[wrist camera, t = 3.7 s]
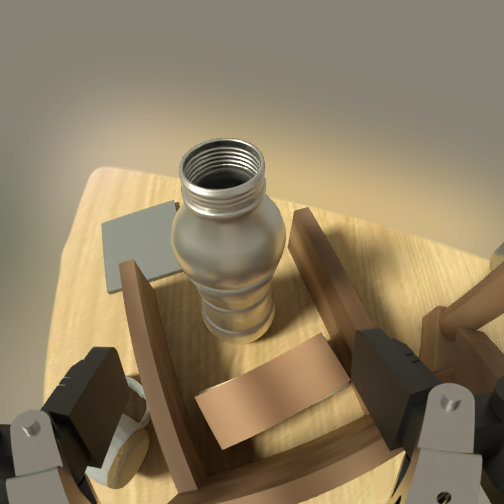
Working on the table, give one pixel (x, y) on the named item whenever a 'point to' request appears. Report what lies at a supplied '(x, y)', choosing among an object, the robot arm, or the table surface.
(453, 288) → the table surface
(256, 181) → the silver bottle
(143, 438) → the ceramic mug
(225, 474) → the walnut rack
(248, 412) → the tan rectangular block
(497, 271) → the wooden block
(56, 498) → the robot arm
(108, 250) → the slate mat
